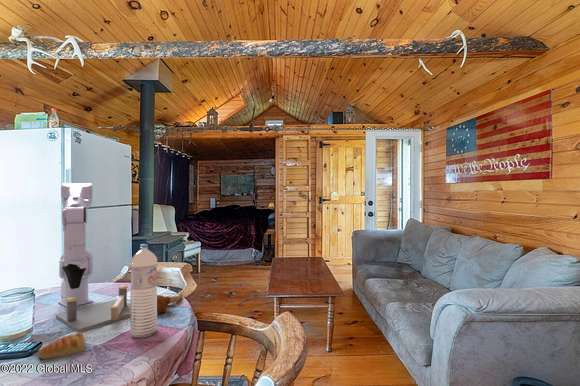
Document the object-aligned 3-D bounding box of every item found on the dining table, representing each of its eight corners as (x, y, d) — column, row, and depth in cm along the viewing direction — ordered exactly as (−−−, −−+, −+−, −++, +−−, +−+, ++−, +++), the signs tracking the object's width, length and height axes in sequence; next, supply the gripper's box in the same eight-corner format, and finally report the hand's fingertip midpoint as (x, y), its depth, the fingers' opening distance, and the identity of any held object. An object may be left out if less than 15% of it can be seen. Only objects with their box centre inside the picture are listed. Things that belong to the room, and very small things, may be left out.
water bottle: (139, 341, 85) (140, 247, 85) (125, 335, 89) (125, 245, 88) (162, 331, 91) (162, 243, 91) (147, 326, 94) (147, 241, 94)
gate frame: (55, 317, 100) (55, 294, 100) (117, 301, 116) (117, 280, 116) (79, 332, 90) (79, 306, 90) (144, 312, 105) (144, 289, 105)
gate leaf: (118, 306, 107) (118, 295, 107) (124, 305, 107) (124, 295, 107) (110, 320, 95) (110, 308, 95) (117, 319, 96) (117, 307, 96)
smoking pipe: (142, 316, 103) (142, 298, 103) (167, 297, 121) (167, 282, 121) (163, 316, 102) (163, 298, 102) (185, 297, 121) (185, 282, 121)
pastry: (40, 365, 73) (40, 348, 73) (36, 354, 78) (36, 339, 78) (87, 351, 80) (87, 335, 80) (81, 342, 85) (81, 327, 85)
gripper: (51, 244, 101) (51, 287, 101) (69, 249, 93) (69, 295, 93) (76, 241, 107) (76, 282, 107) (95, 245, 99) (95, 289, 99)
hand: (74, 288), depth 100 cm, fingers closed
